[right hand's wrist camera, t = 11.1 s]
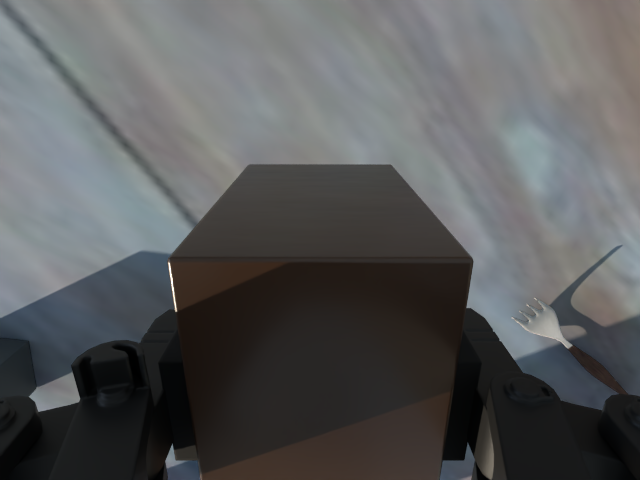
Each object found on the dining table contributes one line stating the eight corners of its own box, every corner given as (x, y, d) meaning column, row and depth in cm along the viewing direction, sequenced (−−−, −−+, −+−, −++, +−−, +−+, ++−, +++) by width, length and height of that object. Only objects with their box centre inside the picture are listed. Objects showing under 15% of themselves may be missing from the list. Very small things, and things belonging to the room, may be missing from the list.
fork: (617, 407, 35) (634, 426, 33) (498, 306, 32) (510, 320, 30) (643, 389, 35) (662, 407, 33) (525, 283, 31) (538, 296, 29)
